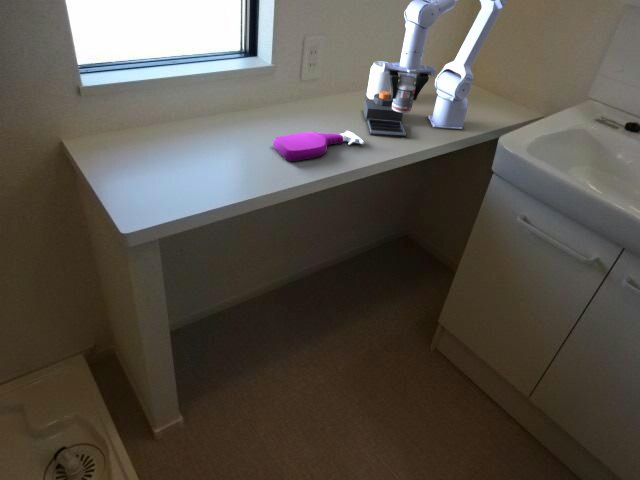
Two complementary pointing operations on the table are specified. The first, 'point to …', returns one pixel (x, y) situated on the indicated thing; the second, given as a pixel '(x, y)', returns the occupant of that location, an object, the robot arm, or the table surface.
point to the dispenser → (380, 109)
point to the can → (378, 80)
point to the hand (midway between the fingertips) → (403, 98)
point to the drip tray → (386, 128)
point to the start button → (384, 95)
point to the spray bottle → (310, 144)
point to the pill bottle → (404, 93)
